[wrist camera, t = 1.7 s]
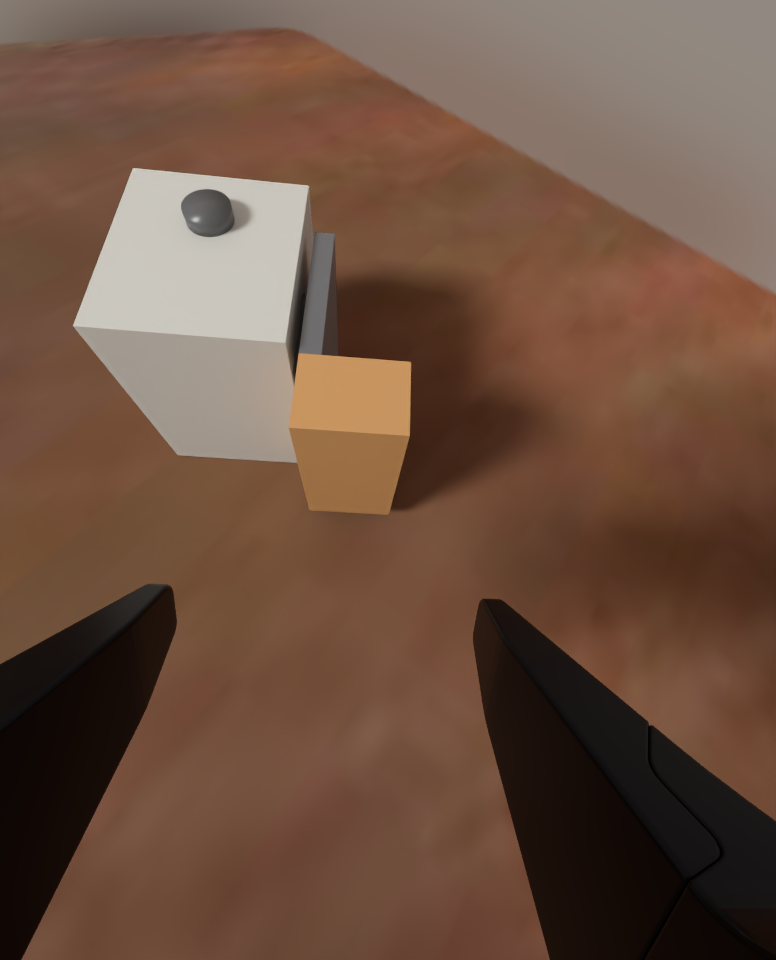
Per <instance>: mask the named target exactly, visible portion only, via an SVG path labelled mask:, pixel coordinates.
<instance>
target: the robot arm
mask: <svg viewBox="0 0 776 960" xmlns="http://www.w3.org/2000/svg"><path fill="white" fill-rule="evenodd" d="M176 625H177V618H176V610H175V602H174V594H173V589H172V587H171V586H169V585H167V584H147V585H145V586H143V587H141V588H139V589H137V590H135V591H134V592H132V593H130V594H128V595H126V596H124V597H123V598H121V599H119V600H117V601H115V602H113V603H112V604H110V605H108V606H106V607H104V608H103V609H101V610H99V611H97V612H95V613H93V614H92V615H90V616H88V617H86V618H84V619H82V620H81V621H79V622H77V623H75V624H73V625H71V626H70V627H68V628H66V629H64V630H62V631H60V632H59V633H57V634H55V635H53V636H51V637H49V638H48V639H46V640H44V641H42V642H40V643H38V644H37V645H35V646H33V647H31V648H29V649H27V650H26V651H24V652H22V653H20V654H18V655H16V656H15V657H13V658H11V659H9V660H7V661H5V662H4V663H2V664H0V960H21V959H22V957H23V955H24V953H25V951H26V949H27V947H28V945H29V943H30V941H31V939H32V937H33V935H34V933H35V931H36V929H37V927H38V925H39V923H40V921H41V919H42V917H43V915H44V913H45V911H46V909H47V907H48V905H49V903H50V901H51V899H52V897H53V895H54V893H55V891H56V889H57V887H58V885H59V883H60V881H61V879H62V877H63V875H64V873H65V871H66V869H67V867H68V865H69V863H70V861H71V859H72V857H73V855H74V853H75V851H76V849H77V847H78V845H79V843H80V841H81V839H82V837H83V835H84V833H85V831H86V829H87V827H88V825H89V823H90V821H91V819H92V817H93V815H94V813H95V811H96V809H97V807H98V805H99V803H100V801H101V799H102V797H103V795H104V793H105V791H106V789H107V787H108V785H109V783H110V781H111V779H112V777H113V775H114V773H115V771H116V769H117V767H118V765H119V763H120V761H121V759H122V757H123V755H124V753H125V751H126V749H127V747H128V745H129V743H130V741H131V739H132V737H133V735H134V733H135V731H136V729H137V727H138V725H139V723H140V721H141V719H142V717H143V715H144V712H145V710H146V708H147V705H148V703H149V701H150V698H151V695H152V693H153V690H154V687H155V685H156V682H157V679H158V677H159V674H160V671H161V669H162V666H163V663H164V661H165V658H166V655H167V653H168V650H169V647H170V644H171V642H172V639H173V636H174V634H175V630H176ZM473 644H474V651H475V657H476V664H477V670H478V677H479V683H480V690H481V696H482V703H483V709H484V715H485V720H486V724H487V728H488V732H489V736H490V740H491V743H492V747H493V751H494V754H495V758H496V762H497V766H498V769H499V773H500V777H501V780H502V784H503V788H504V791H505V795H506V799H507V803H508V806H509V810H510V814H511V817H512V821H513V825H514V828H515V832H516V836H517V840H518V843H519V847H520V851H521V854H522V858H523V862H524V865H525V869H526V873H527V876H528V880H529V884H530V888H531V891H532V895H533V899H534V902H535V906H536V910H537V913H538V917H539V921H540V925H541V928H542V932H543V936H544V939H545V943H546V947H547V950H548V954H549V958H550V960H776V821H775V820H773V819H772V818H771V817H769V816H768V815H767V814H765V813H764V812H762V811H761V810H760V809H758V808H757V807H756V806H754V805H753V804H752V803H750V802H749V801H748V800H746V799H745V798H744V797H742V796H741V795H740V794H738V793H737V792H736V791H734V790H733V789H732V788H730V787H729V786H728V785H726V784H725V783H724V782H722V781H721V780H720V779H719V778H717V777H716V776H715V775H713V774H712V773H711V772H709V771H708V770H707V769H705V768H704V767H703V766H702V765H700V764H699V763H698V762H697V761H696V760H694V759H693V758H692V757H691V756H689V755H688V754H687V753H686V752H684V751H683V750H682V749H681V748H679V747H678V746H677V745H676V744H674V743H673V742H672V741H671V740H670V739H668V738H667V737H666V736H665V735H664V734H662V733H661V732H660V731H659V730H658V729H656V728H655V727H654V726H652V725H650V726H649V723H648V721H647V720H645V719H644V718H643V717H642V716H641V715H639V714H638V713H637V712H636V711H635V710H633V709H632V708H631V707H630V706H629V705H627V704H626V703H625V702H624V701H623V700H621V699H620V698H619V697H618V696H617V695H615V694H614V693H613V692H612V691H611V690H609V689H608V688H607V687H606V686H605V685H603V684H602V683H601V682H600V681H599V680H597V679H596V678H595V677H594V676H593V675H591V674H590V673H589V672H588V671H587V670H585V669H584V668H583V667H582V666H581V665H579V664H578V663H577V662H576V661H575V660H573V659H572V658H571V657H570V656H569V655H567V654H566V653H565V652H564V651H563V650H561V649H560V648H559V647H558V646H557V645H556V644H554V643H553V642H552V641H551V640H550V639H548V638H547V637H546V636H545V635H544V634H542V633H541V632H540V631H539V630H538V629H536V628H535V627H534V626H533V625H532V624H530V623H529V622H528V621H527V620H526V619H524V618H523V617H522V616H521V615H520V614H518V613H517V612H516V611H515V610H514V609H512V608H511V607H510V606H509V605H508V604H506V603H505V602H504V601H502V600H500V599H482V600H481V601H480V603H479V606H478V611H477V616H476V621H475V626H474V632H473Z"/></svg>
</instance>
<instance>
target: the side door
mask: <svg viewBox="0 0 776 960" xmlns="http://www.w3.org/2000/svg"><path fill="white" fill-rule="evenodd" d="M410 395H411V362H406V361H393V360H380V359H367V358H354V357H342V356H339V352H338V321H337V290H336V259H335V234H328V233H318V232H315V235H314V242H313V250H312V257H311V265H310V272H309V280H308V287H307V295H306V302H305V309H304V317H303V324H302V332H301V339H300V347H299V354H298V362H297V369H296V377H295V384H294V392H293V399H292V406H291V414H290V421H289V431H290V435H291V439H292V443H293V447H294V451H295V455H296V459H297V463H298V467H299V471H300V475H301V479H302V483H303V487H304V491H305V495H306V499H307V503H308V506H309V510H315V511H333V512H350V513H368V514H385V515H389V512H390V509H391V505H392V501H393V497H394V493H395V490H396V486H397V482H398V478H399V475H400V471H401V467H402V463H403V460H404V456H405V452H406V448H407V445H408V441H409V437H410Z"/></svg>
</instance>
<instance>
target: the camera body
mask: <svg viewBox="0 0 776 960" xmlns="http://www.w3.org/2000/svg"><path fill="white" fill-rule="evenodd" d="M312 250H313V230H312V218H311V206H310V194H309V186H306V185H296V184H286V183H276V182H266V181H256V180H246V179H236V178H227V177H217V176H207V175H197V174H187V173H177V172H167V171H157V170H147V169H137V168H133V170H132V172H131V175H130V178H129V180H128V183H127V185H126V188H125V191H124V193H123V196H122V199H121V201H120V204H119V206H118V209H117V212H116V214H115V217H114V220H113V222H112V225H111V228H110V230H109V233H108V235H107V238H106V241H105V243H104V246H103V249H102V251H101V254H100V256H99V259H98V262H97V264H96V267H95V270H94V272H93V275H92V278H91V280H90V283H89V285H88V288H87V291H86V293H85V296H84V299H83V301H82V304H81V306H80V309H79V312H78V314H77V317H76V320H75V322H74V325H73V327H74V328H75V329H76V330H77V332H78V333H79V334H80V335H81V336H82V338H83V339H84V340H85V341H86V343H87V344H88V345H89V346H90V348H91V349H92V350H93V351H94V352H95V354H96V355H97V356H98V357H99V359H100V360H101V361H102V362H103V364H104V365H105V366H106V367H107V368H108V370H109V371H110V372H111V373H112V375H113V376H114V377H115V378H116V380H117V381H118V382H119V383H120V385H121V386H122V387H123V388H124V389H125V391H126V392H127V393H128V394H129V396H130V397H131V398H132V399H133V401H134V402H135V403H136V404H137V405H138V407H139V408H140V409H141V410H142V412H143V413H144V414H145V415H146V417H147V418H148V419H149V420H150V422H151V423H152V424H153V425H154V426H155V428H156V429H157V430H158V431H159V433H160V434H161V435H162V436H163V438H164V439H165V440H166V441H167V442H168V444H169V445H170V446H171V447H172V449H173V450H174V451H175V452H176V454H177V455H182V456H197V457H213V458H229V459H245V460H261V461H276V462H292V463H297V459H296V455H295V451H294V447H293V443H292V439H291V435H290V431H289V421H290V414H291V406H292V399H293V392H294V384H295V377H296V369H297V362H298V354H299V347H300V339H301V332H302V324H303V317H304V309H305V302H306V295H307V287H308V280H309V272H310V265H311V257H312Z"/></svg>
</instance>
